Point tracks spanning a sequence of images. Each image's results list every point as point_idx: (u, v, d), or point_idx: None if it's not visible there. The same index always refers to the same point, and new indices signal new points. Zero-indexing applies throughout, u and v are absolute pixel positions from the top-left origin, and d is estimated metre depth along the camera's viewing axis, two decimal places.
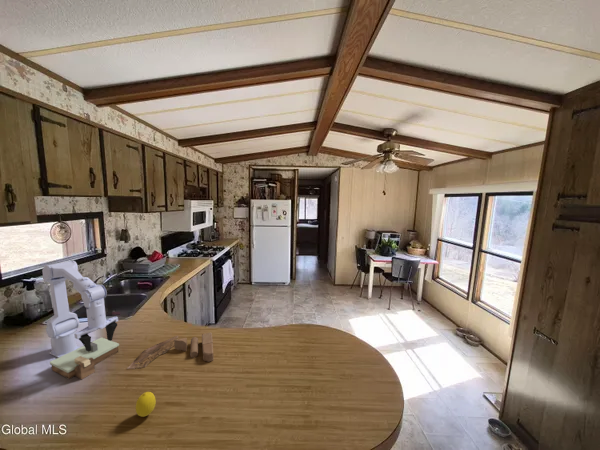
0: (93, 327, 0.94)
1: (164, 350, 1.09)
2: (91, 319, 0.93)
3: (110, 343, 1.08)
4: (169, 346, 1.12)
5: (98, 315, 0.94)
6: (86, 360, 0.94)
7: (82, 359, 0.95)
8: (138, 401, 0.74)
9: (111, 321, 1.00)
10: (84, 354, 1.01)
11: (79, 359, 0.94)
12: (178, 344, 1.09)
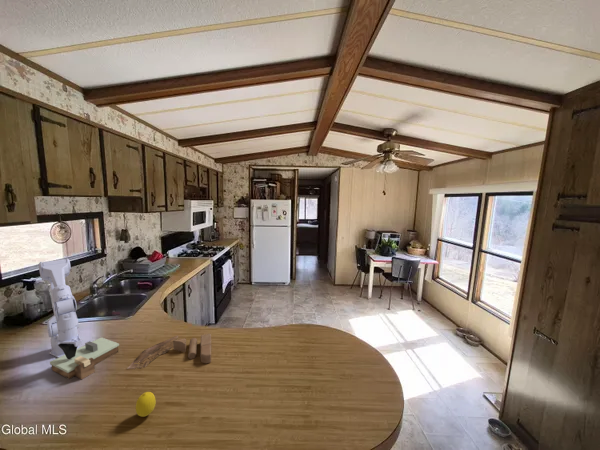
0: None
1: (164, 350, 1.09)
2: None
3: (110, 343, 1.08)
4: (169, 346, 1.12)
5: (66, 329, 0.94)
6: (86, 360, 0.94)
7: (82, 359, 0.95)
8: (138, 401, 0.74)
9: (69, 342, 0.94)
10: (84, 354, 1.01)
11: (79, 359, 0.94)
12: (177, 345, 1.09)
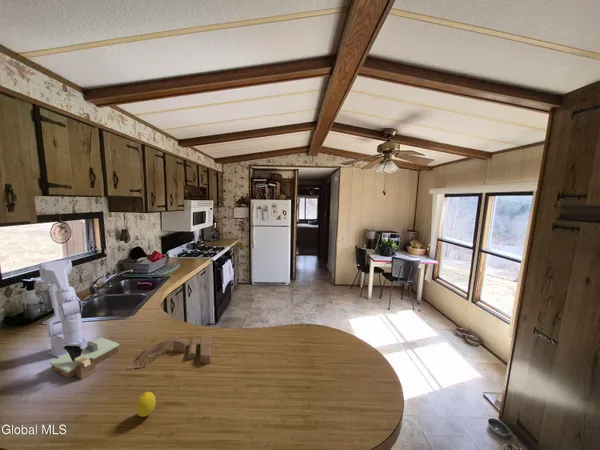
0: None
1: (164, 350, 1.09)
2: None
3: (110, 343, 1.08)
4: (169, 346, 1.12)
5: (72, 330, 0.93)
6: (86, 360, 0.94)
7: (82, 359, 0.95)
8: (138, 401, 0.74)
9: (74, 344, 0.92)
10: (84, 354, 1.01)
11: (79, 359, 0.94)
12: (177, 345, 1.09)
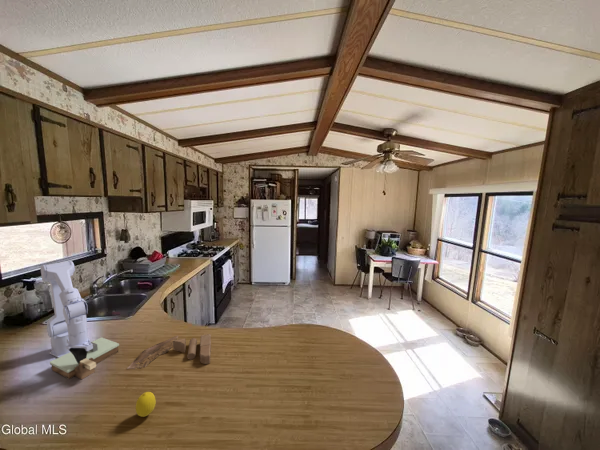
0: None
1: (164, 350, 1.09)
2: None
3: (110, 343, 1.08)
4: (169, 346, 1.12)
5: (77, 332, 0.91)
6: (92, 362, 0.92)
7: (87, 361, 0.93)
8: (138, 401, 0.74)
9: (79, 347, 0.91)
10: None
11: (85, 361, 0.93)
12: (176, 345, 1.09)
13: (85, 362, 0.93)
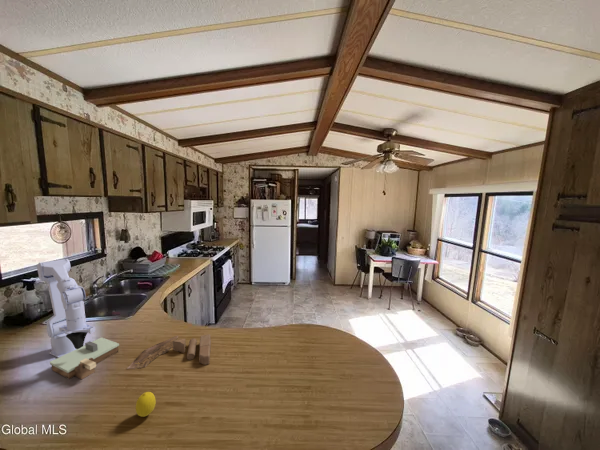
0: None
1: (164, 350, 1.09)
2: None
3: (110, 343, 1.08)
4: (169, 346, 1.12)
5: (75, 318, 0.94)
6: (92, 362, 0.92)
7: (87, 361, 0.93)
8: (138, 401, 0.74)
9: (81, 330, 0.94)
10: (84, 354, 1.01)
11: (85, 361, 0.93)
12: (176, 345, 1.09)
13: (85, 362, 0.93)
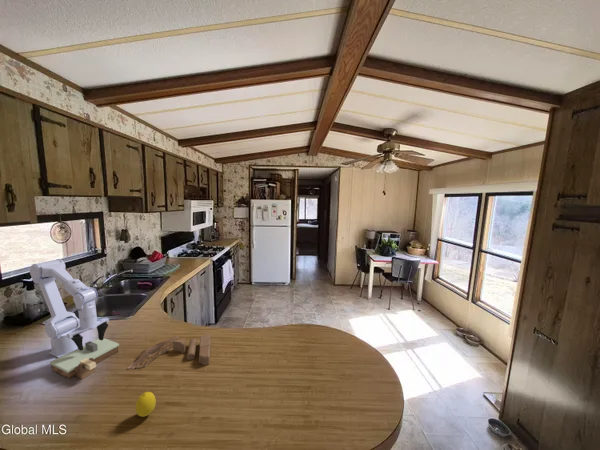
0: (85, 327, 1.00)
1: (164, 350, 1.09)
2: (83, 320, 1.00)
3: (110, 343, 1.08)
4: (169, 346, 1.12)
5: (90, 316, 1.01)
6: (92, 362, 0.92)
7: (87, 361, 0.93)
8: (138, 401, 0.74)
9: (102, 322, 1.06)
10: (84, 354, 1.01)
11: (85, 361, 0.93)
12: (176, 345, 1.08)
13: (85, 362, 0.93)
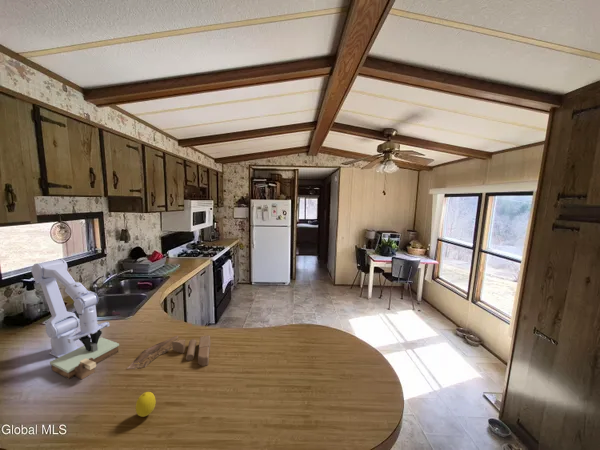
0: (85, 332, 1.00)
1: (164, 350, 1.09)
2: (83, 325, 1.00)
3: (110, 343, 1.08)
4: (169, 346, 1.12)
5: (91, 320, 1.01)
6: (92, 362, 0.92)
7: (87, 361, 0.93)
8: (138, 401, 0.74)
9: (102, 326, 1.06)
10: (84, 354, 1.01)
11: (85, 361, 0.93)
12: (176, 346, 1.08)
13: (85, 362, 0.93)
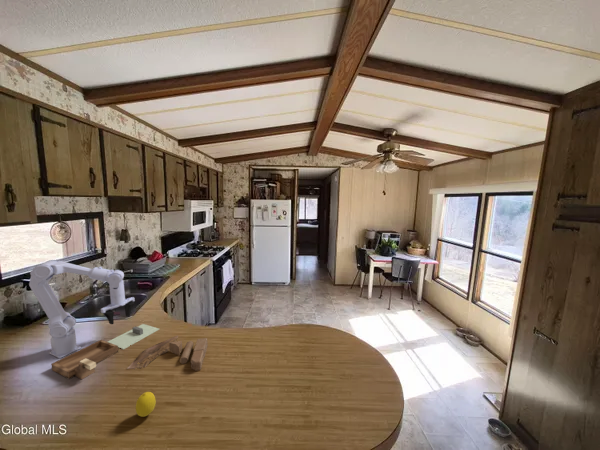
0: (115, 304, 1.14)
1: (164, 350, 1.09)
2: (114, 297, 1.13)
3: (152, 328, 1.27)
4: None
5: (123, 292, 1.17)
6: (92, 362, 0.92)
7: (87, 361, 0.93)
8: (138, 401, 0.74)
9: (129, 300, 1.20)
10: (132, 336, 1.20)
11: (85, 361, 0.93)
12: (172, 347, 1.07)
13: (85, 362, 0.93)
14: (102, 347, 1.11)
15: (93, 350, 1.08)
